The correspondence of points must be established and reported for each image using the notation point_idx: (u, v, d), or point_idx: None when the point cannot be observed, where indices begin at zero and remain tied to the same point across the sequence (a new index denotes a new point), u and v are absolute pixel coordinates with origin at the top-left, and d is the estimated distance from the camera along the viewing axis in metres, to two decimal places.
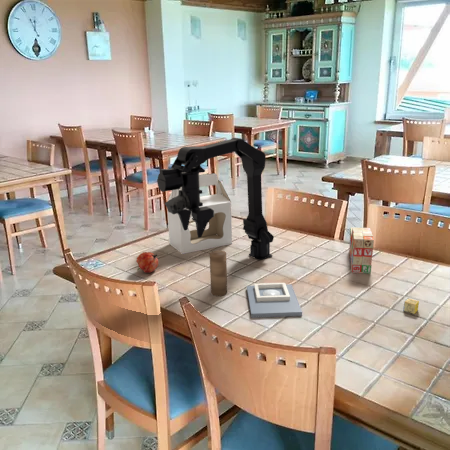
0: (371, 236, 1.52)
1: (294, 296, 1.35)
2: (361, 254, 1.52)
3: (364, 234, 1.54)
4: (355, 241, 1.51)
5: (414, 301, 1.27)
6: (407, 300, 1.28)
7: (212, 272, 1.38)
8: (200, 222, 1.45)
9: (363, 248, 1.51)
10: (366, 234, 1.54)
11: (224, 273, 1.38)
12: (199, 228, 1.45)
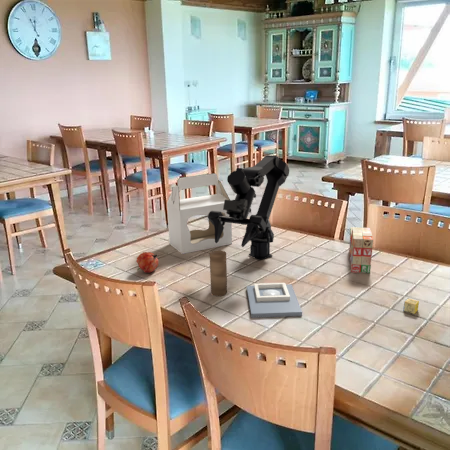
0: (370, 236, 1.52)
1: (294, 296, 1.35)
2: (360, 254, 1.52)
3: (364, 234, 1.54)
4: (354, 241, 1.51)
5: (414, 301, 1.27)
6: (407, 300, 1.28)
7: (212, 272, 1.38)
8: (250, 231, 1.44)
9: (362, 248, 1.51)
10: (366, 234, 1.54)
11: (224, 273, 1.38)
12: (248, 236, 1.43)
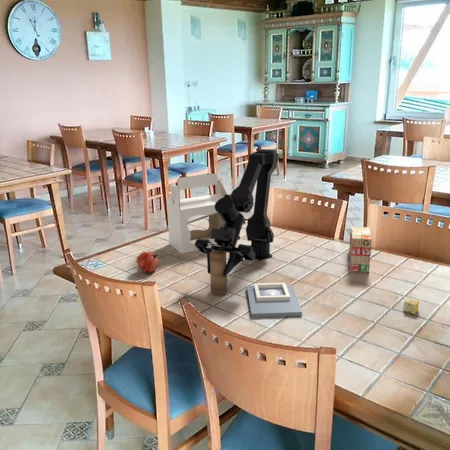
0: (369, 235, 1.53)
1: (294, 296, 1.35)
2: (359, 254, 1.52)
3: (363, 233, 1.54)
4: (353, 240, 1.51)
5: (414, 301, 1.27)
6: (407, 300, 1.28)
7: (212, 272, 1.38)
8: (232, 260, 1.39)
9: (361, 247, 1.51)
10: (365, 234, 1.54)
11: None
12: (230, 265, 1.38)
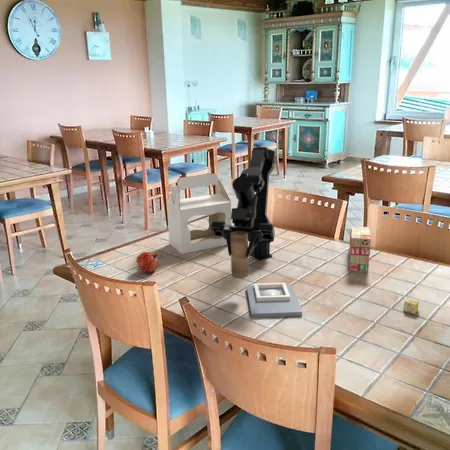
0: (369, 235, 1.53)
1: (294, 296, 1.35)
2: (358, 253, 1.53)
3: (362, 233, 1.55)
4: (352, 240, 1.52)
5: (414, 301, 1.27)
6: (407, 300, 1.28)
7: (234, 254, 1.33)
8: None
9: (360, 247, 1.52)
10: (364, 233, 1.55)
11: (246, 254, 1.34)
12: (252, 245, 1.34)
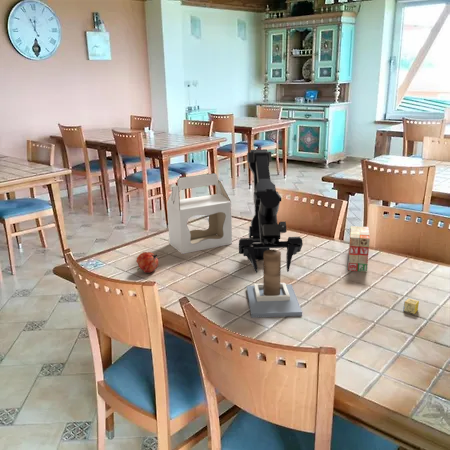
0: (368, 235, 1.53)
1: (294, 296, 1.35)
2: (357, 253, 1.53)
3: (361, 233, 1.55)
4: (351, 239, 1.52)
5: (414, 301, 1.27)
6: (407, 300, 1.28)
7: (269, 273, 1.33)
8: None
9: (359, 246, 1.52)
10: (363, 233, 1.55)
11: None
12: None
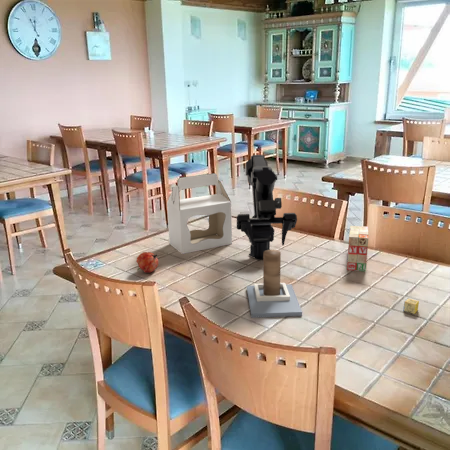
0: (367, 234, 1.54)
1: (294, 296, 1.35)
2: (356, 252, 1.54)
3: (360, 232, 1.56)
4: (350, 239, 1.53)
5: (414, 301, 1.27)
6: (407, 300, 1.28)
7: (269, 273, 1.33)
8: None
9: (358, 246, 1.53)
10: (362, 232, 1.55)
11: None
12: None
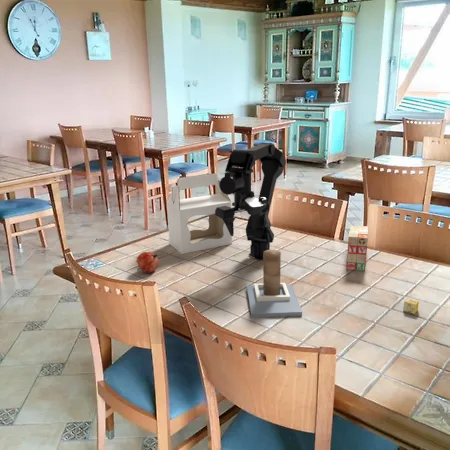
0: (366, 234, 1.54)
1: (294, 296, 1.35)
2: (355, 252, 1.54)
3: (360, 232, 1.56)
4: (349, 239, 1.53)
5: (414, 301, 1.27)
6: (407, 300, 1.28)
7: (269, 273, 1.33)
8: None
9: (357, 246, 1.53)
10: (362, 232, 1.56)
11: None
12: None
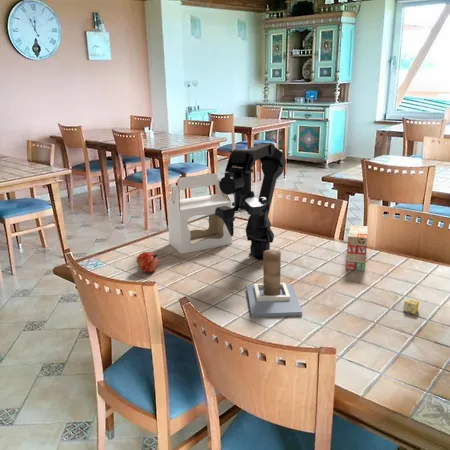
0: (366, 234, 1.54)
1: (294, 296, 1.35)
2: (354, 252, 1.54)
3: (359, 232, 1.56)
4: (349, 238, 1.53)
5: (414, 301, 1.27)
6: (407, 300, 1.28)
7: (269, 273, 1.33)
8: None
9: (357, 246, 1.53)
10: (361, 232, 1.56)
11: None
12: None
